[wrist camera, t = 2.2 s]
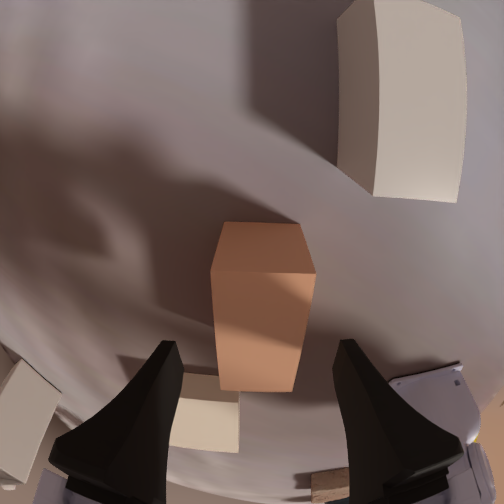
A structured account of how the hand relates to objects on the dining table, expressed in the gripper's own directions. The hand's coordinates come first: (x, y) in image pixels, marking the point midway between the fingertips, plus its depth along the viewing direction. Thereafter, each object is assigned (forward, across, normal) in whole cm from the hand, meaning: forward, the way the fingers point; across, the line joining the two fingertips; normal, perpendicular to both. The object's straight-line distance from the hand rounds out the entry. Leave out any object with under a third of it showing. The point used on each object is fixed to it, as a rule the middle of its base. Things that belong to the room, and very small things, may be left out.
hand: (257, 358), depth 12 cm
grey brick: (+6, -6, -11) cm, 14 cm away
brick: (+6, -14, +50) cm, 52 cm away
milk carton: (+6, +30, +17) cm, 35 cm away
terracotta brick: (+6, 0, 0) cm, 6 cm away
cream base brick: (+6, +6, +15) cm, 17 cm away
